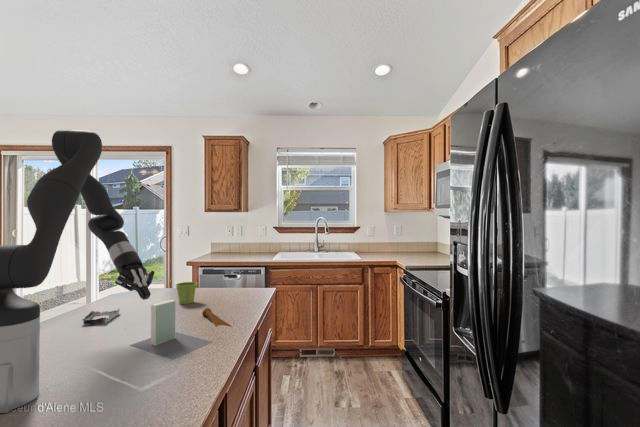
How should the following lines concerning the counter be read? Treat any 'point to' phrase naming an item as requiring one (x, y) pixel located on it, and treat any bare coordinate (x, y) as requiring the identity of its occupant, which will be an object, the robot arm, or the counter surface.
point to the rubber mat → (173, 346)
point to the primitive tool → (214, 318)
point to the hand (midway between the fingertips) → (147, 297)
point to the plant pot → (186, 292)
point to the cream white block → (163, 321)
